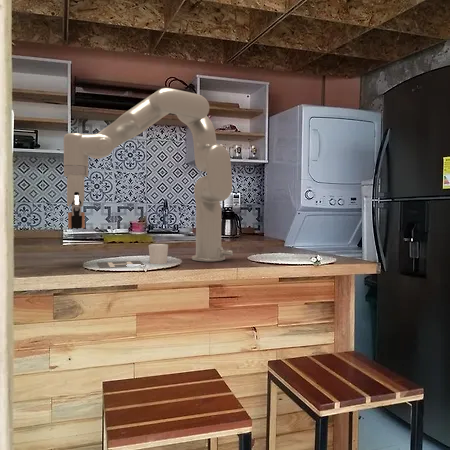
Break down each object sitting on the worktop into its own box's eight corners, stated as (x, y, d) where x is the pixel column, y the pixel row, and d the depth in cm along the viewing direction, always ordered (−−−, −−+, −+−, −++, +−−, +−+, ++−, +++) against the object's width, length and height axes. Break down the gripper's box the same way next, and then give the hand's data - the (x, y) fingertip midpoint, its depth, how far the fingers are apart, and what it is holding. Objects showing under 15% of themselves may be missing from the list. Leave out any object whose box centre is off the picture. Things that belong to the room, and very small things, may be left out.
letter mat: (139, 262, 162) (139, 260, 162) (146, 268, 149) (146, 266, 149) (96, 264, 157) (96, 262, 157) (99, 270, 144) (99, 268, 144)
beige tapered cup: (164, 266, 153) (164, 245, 153) (145, 265, 155) (145, 245, 154) (170, 263, 160) (170, 243, 160) (152, 262, 162) (152, 243, 161)
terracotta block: (84, 227, 151) (83, 212, 150) (84, 228, 146) (84, 212, 146) (68, 227, 149) (68, 212, 149) (68, 228, 144) (68, 212, 144)
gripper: (63, 172, 153) (64, 226, 154) (63, 170, 137) (64, 229, 138) (86, 173, 156) (87, 226, 157) (89, 171, 140) (89, 229, 141)
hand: (76, 227), depth 147 cm, fingers closed on terracotta block, 5 cm apart
